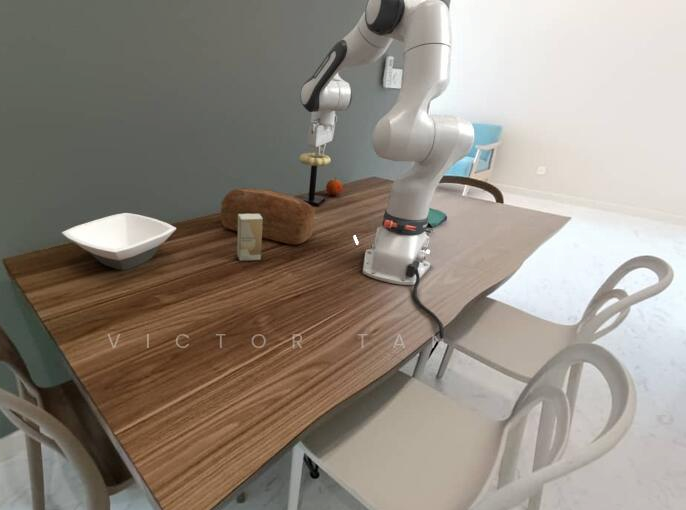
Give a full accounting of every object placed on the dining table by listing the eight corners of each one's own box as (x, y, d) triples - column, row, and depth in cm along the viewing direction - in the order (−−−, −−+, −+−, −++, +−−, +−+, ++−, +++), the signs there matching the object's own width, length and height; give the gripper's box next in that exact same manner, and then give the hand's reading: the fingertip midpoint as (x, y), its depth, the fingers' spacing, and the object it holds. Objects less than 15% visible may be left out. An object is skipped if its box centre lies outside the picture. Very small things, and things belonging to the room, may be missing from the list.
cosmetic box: (239, 261, 109) (239, 219, 102) (236, 255, 112) (236, 213, 106) (262, 260, 110) (263, 218, 104) (259, 253, 114) (259, 212, 108)
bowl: (186, 255, 110) (184, 227, 106) (118, 287, 93) (112, 255, 88) (131, 237, 119) (127, 210, 115) (60, 263, 102) (52, 232, 97)
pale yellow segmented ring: (324, 168, 146) (325, 160, 144) (294, 163, 150) (294, 156, 148) (333, 162, 156) (334, 155, 154) (305, 158, 159) (306, 151, 158)
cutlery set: (451, 217, 153) (452, 211, 152) (432, 240, 131) (434, 233, 130) (401, 206, 162) (402, 201, 160) (375, 226, 139) (377, 220, 138)
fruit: (333, 192, 174) (335, 174, 170) (344, 196, 170) (347, 177, 166) (322, 194, 170) (323, 176, 166) (333, 199, 166) (335, 179, 162)
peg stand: (317, 206, 155) (321, 166, 147) (296, 202, 158) (299, 163, 150) (325, 201, 163) (329, 162, 155) (304, 197, 165) (308, 159, 158)
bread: (302, 250, 118) (305, 206, 111) (216, 229, 128) (214, 188, 121) (317, 237, 127) (321, 196, 120) (236, 219, 138) (235, 180, 131)
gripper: (321, 121, 139) (317, 161, 146) (338, 116, 155) (334, 153, 162) (304, 119, 141) (301, 159, 148) (323, 115, 157) (320, 151, 164)
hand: (319, 156), depth 155 cm, fingers closed on pale yellow segmented ring, 3 cm apart
